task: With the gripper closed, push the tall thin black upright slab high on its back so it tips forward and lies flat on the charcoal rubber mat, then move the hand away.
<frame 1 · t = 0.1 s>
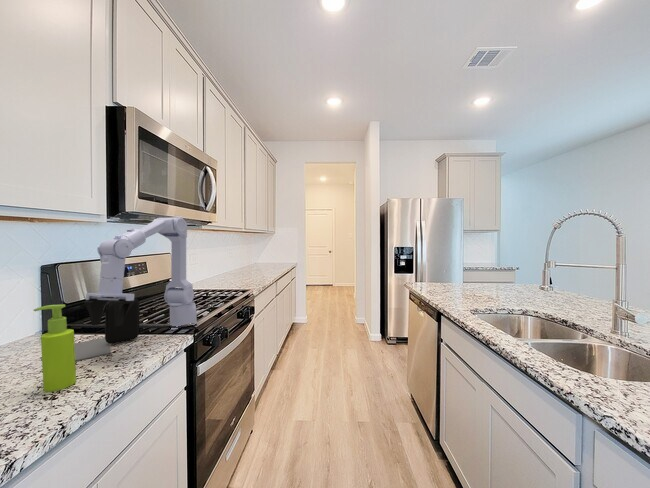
hand: (107, 325, 83), 10 cm above the worktop, tool pointing down, fingers open, 7 cm apart
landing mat: (82, 350, 90), on the worktop
soap dispenser: (57, 386, 69), on the worktop
black upright slab: (120, 342, 97), on the worktop, touching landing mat
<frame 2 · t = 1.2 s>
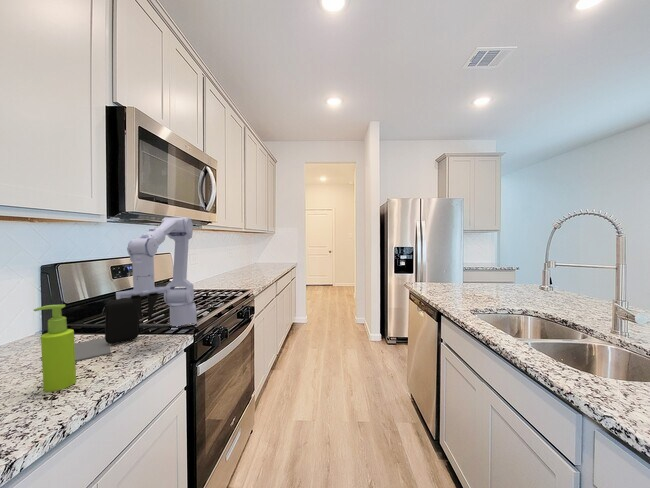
hand: (145, 317, 90), 10 cm above the worktop, tool pointing down, fingers closed
nothing on the worktop moved.
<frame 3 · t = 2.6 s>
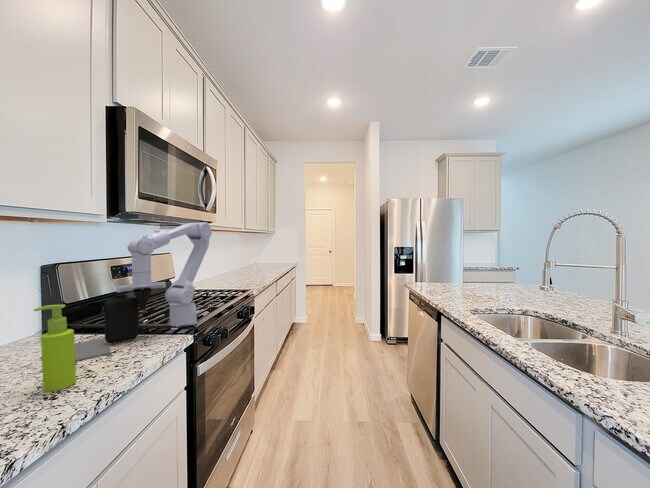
hand: (142, 309, 100), 10 cm above the worktop, tool pointing down, fingers closed
black upright slab: (120, 342, 97), on the worktop, touching gripper, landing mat
everything else where it was.
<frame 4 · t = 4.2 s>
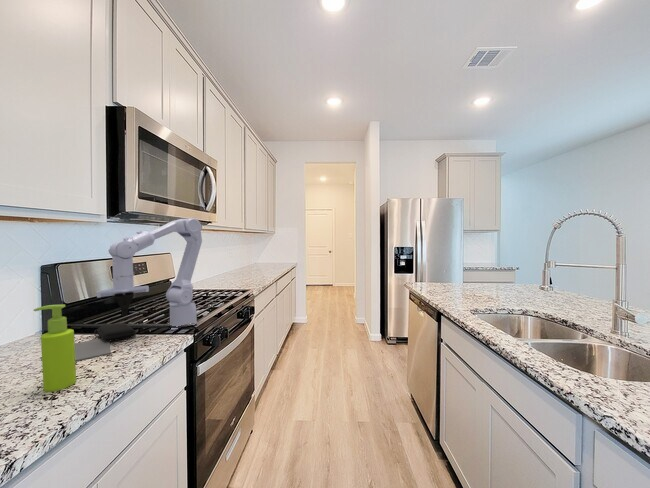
hand: (124, 314, 97), 9 cm above the worktop, tool pointing down, fingers closed
black upright slab: (120, 336, 98), point 2 cm above the worktop, touching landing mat
everything else where it was.
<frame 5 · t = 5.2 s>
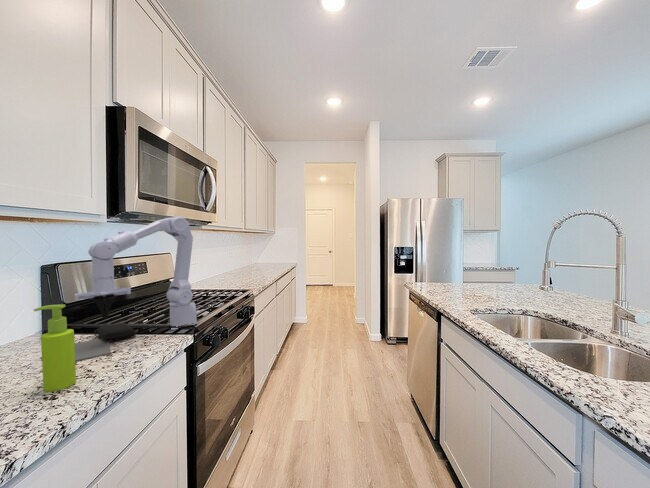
hand: (105, 318, 94), 9 cm above the worktop, tool pointing down, fingers closed
nothing on the worktop moved.
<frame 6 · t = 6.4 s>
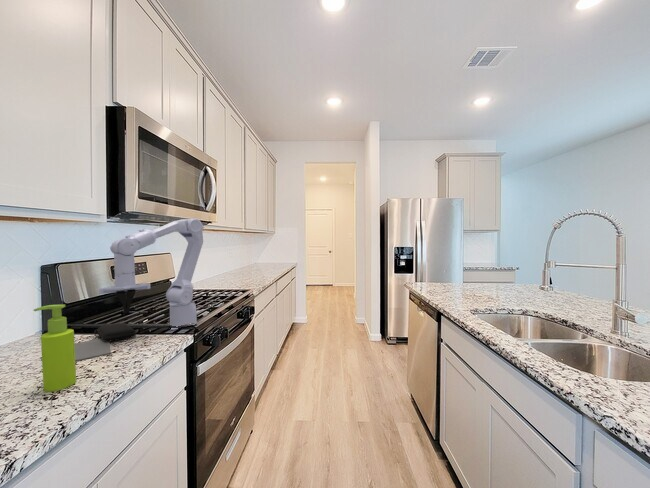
hand: (126, 312, 98), 10 cm above the worktop, tool pointing down, fingers closed
nothing on the worktop moved.
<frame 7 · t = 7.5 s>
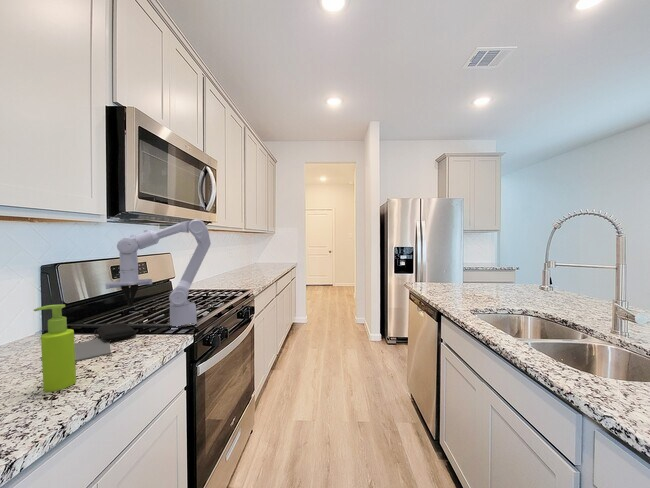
hand: (130, 305, 107), 10 cm above the worktop, tool pointing down, fingers closed
nothing on the worktop moved.
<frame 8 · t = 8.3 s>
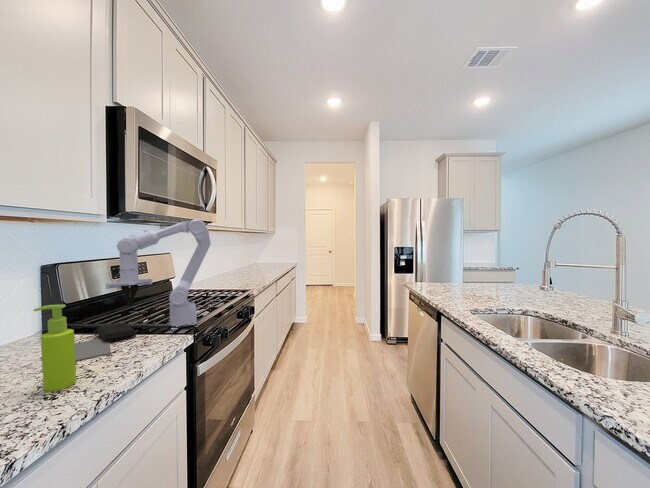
hand: (130, 305, 107), 10 cm above the worktop, tool pointing down, fingers closed
nothing on the worktop moved.
at the end: black upright slab tilted 90°; black upright slab touching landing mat, worktop; the gripper is holding nothing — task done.
